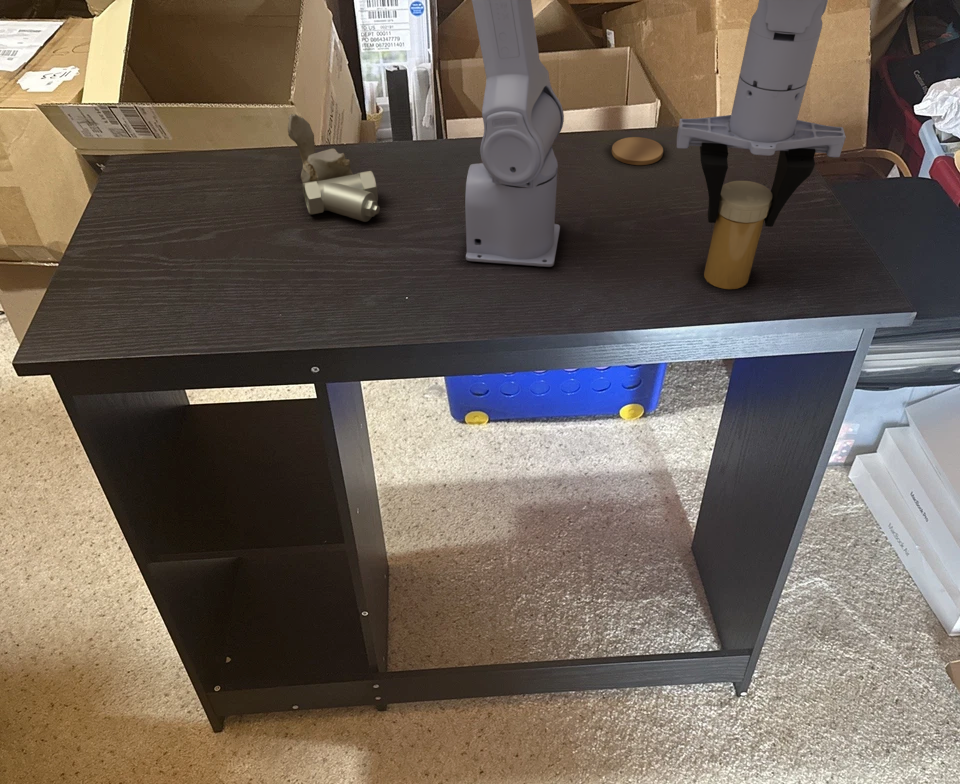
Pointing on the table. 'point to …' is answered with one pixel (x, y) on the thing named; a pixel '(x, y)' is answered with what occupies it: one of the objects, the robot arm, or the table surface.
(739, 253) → the jar
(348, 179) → the pipe fitting
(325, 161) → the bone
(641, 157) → the coaster
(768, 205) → the jar lid
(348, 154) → the table surface
